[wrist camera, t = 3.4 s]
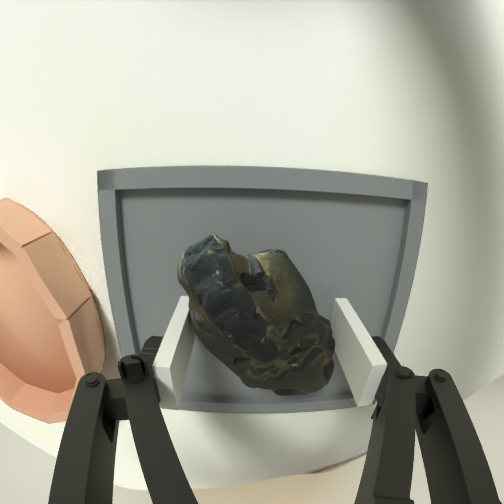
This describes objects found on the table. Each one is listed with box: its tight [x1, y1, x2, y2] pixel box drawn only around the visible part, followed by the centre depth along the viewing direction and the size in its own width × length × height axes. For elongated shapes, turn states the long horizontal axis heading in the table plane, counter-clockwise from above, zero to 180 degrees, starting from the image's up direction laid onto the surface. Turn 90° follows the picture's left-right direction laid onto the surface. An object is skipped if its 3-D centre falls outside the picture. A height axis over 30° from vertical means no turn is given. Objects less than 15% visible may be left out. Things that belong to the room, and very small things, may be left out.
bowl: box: [0, 198, 106, 424], centre depth 18 cm, size 20×20×4 cm
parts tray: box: [97, 166, 428, 413], centre depth 19 cm, size 18×20×1 cm
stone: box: [177, 234, 335, 396], centre depth 16 cm, size 7×13×5 cm, turn 34°
